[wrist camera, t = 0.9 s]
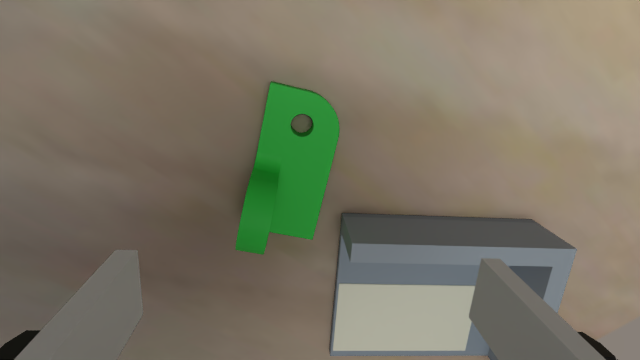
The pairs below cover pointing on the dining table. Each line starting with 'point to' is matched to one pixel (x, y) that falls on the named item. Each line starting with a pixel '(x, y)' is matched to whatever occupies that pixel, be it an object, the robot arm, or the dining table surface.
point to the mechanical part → (288, 168)
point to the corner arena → (431, 280)
